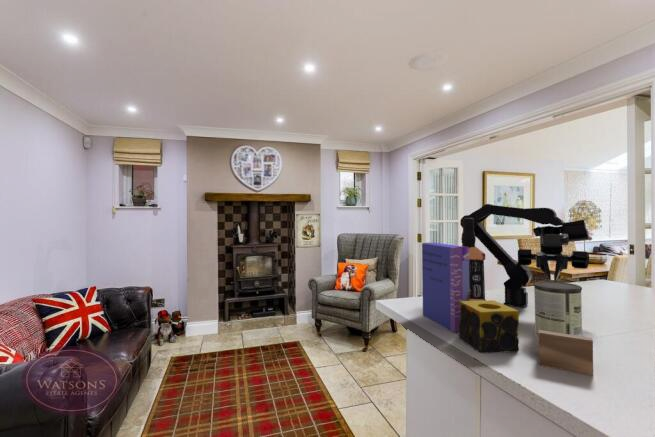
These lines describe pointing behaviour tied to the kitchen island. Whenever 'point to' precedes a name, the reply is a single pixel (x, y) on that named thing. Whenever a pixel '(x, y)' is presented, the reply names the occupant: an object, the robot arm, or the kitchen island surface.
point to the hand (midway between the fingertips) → (552, 279)
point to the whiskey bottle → (474, 262)
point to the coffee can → (558, 307)
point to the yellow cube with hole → (489, 326)
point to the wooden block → (566, 352)
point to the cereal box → (445, 283)
